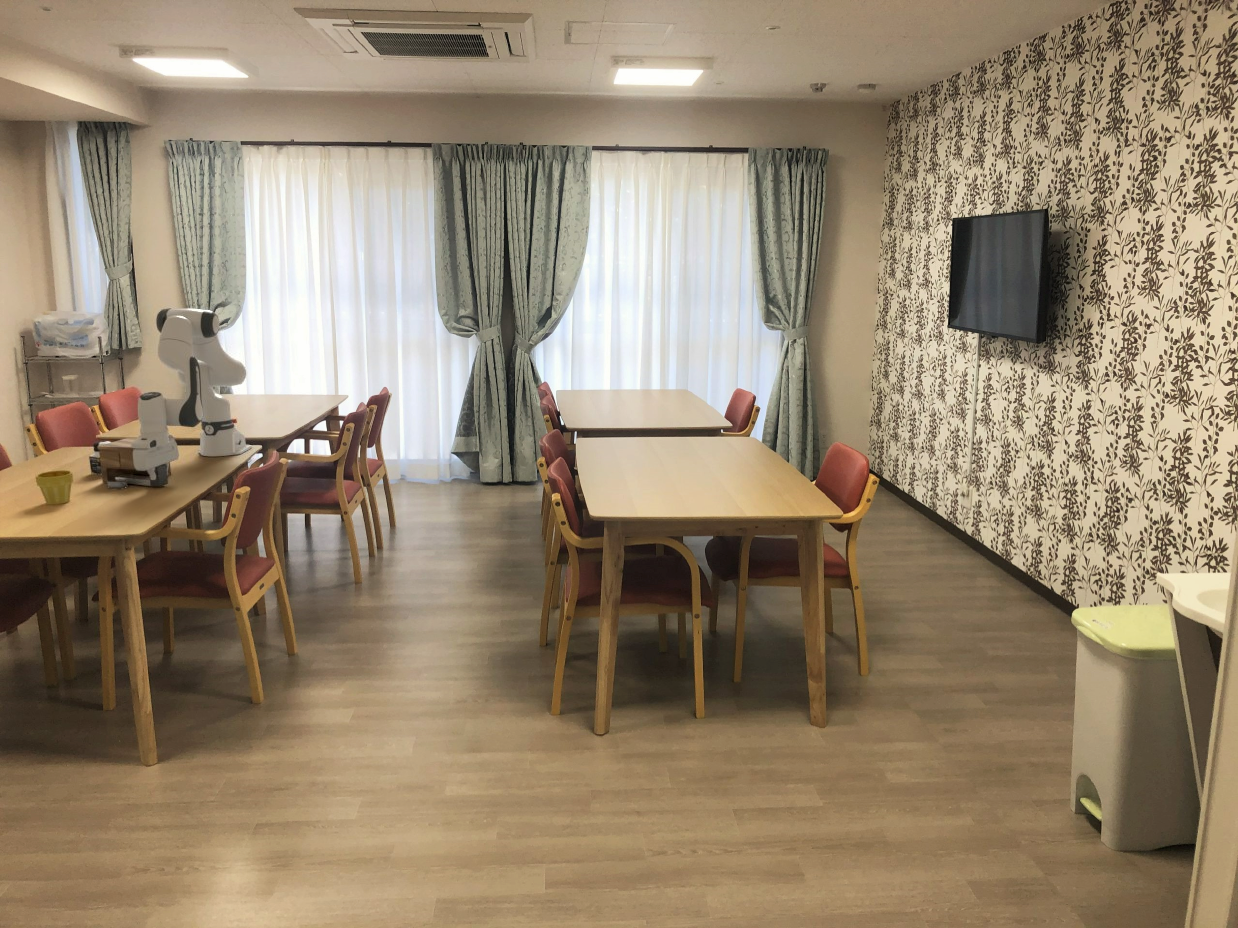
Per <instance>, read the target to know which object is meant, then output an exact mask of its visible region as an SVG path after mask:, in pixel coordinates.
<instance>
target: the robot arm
mask: <svg viewBox="0 0 1238 928" xmlns="http://www.w3.org/2000/svg"><path fill="white" fill-rule="evenodd" d="M155 321H156V322H155V324H156V328H157V329H156V330H157V331H158V332H159V333H160V336H159V339H158V340H159V341H158V344H157V345H158V347H157V356H158V358H159V360H160V362H162V364H163V365H165V366H166V367H167V368H169V369H171V370H174V371H175V372H177V375H178V379H179V380H180V382H181V384H183V385H184V386H185V394H186V395H185V397H184V398H181V399H180V398H165V397H164V395H163V394H162V393H161V392H158V391H151V392H144V393H143V394H141V395H139V396H138V399H137V400H138V401H137V415H138V422H139V423H140V425H139V426H140V429H139V433H140V435H138V436H137V437H136V438H137V439H136V440H134V441H133V442H132V444H131V445H132V448H135V449H134V451H133V462H134V467H135V469H136V470H138V471H145V470H147V472H148V473H149V475H150V479H151V480H155V479H157V474H155V472H154V470H155V467H157V466H160V465H166V468H167V470H168V468H169V462H170V463H171V462H174V461H177V460H178V459H179V457H180V453H179V448H178V443H177V442H176V439H175V437H174V436H173V435H172V434H169V428H168V426H169V427H183V428H184V427H186V428H195V427H196V426H198V425H199V424H200V423H201V424H200V426H201V430H202V431H201V433H200V435H199V438H200V439H199V443H200V444H199V445H200V447H199V450H198V454H200V455H201V456H205V457H223V456H224V457H226V456H233V455H242V454H244V453H245V452H246V451H248V450H250V449H252V448H253V446H252V445H250V444H247V443H246V438H245V437H246V436H245V435H244V434H243V433H242V432H241V431H239V429H237V428H236V427H235V424H237V423H238V419H237V418H232V412H231V403H230V400H228V398H227V397H225V396H224V395H221V394H219V393H218V392H216V391H215V389H214V387H215V388H216V387H218V388H219V387H223V388H224V387H234V386H239V385H242V384H243V383H244V381H245V379H246V377H247V369H246V367H245V365H244V364H243V363H242V362H241V361H239V360H237V359H235V358H233V357H231V356H230V355H229V354H228V353H227V352H226V351H225V350H224V349H223V347H222V346H221V342H220V340H219V337H218V333H219V330H220V319H219V316H218V314H216V313H215V312H214V311H212V310H209V309H199V308H191V307H190V308H163V309H161V310H159V312H157V314H156V319H155ZM149 475H148V476H149ZM167 475H168V471H167Z"/></svg>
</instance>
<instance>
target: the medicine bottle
mask: <svg viewBox="0 0 1238 928" xmlns="http://www.w3.org/2000/svg"><path fill="white" fill-rule="evenodd" d="M108 443H111V441H109V440H99V441H95V442H94V443H93V445H92V446H93V452H94V454H89V456H88V459H89V467H90V474H91V475H97V474H98V476H102V472H101V463H100V455H99V449H98V448H97V446H100V445H104V444H108Z"/></svg>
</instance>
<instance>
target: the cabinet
mask: <svg viewBox="0 0 1238 928" xmlns="http://www.w3.org/2000/svg"><path fill="white" fill-rule="evenodd" d="M137 438H138V437H126V438H123V439H119V440H116V441H115V440H114V441H112V442H111V441H110V442H111V443H108V444H104V445H100V446H97V448H98V449H99V455H100V463H101V472H102V475H101V479H102V484H107V482H108V481H111V480H116V478H115V477H117V476H120V475H124V474H126V475H132V474H142V475H141V476H149V473H148V472H147V470H145V471H138V470H136V469H135V467H134V462H133V451H134V449H135V448H132V445H131V444H132V442H133V441H134V440H136V439H137ZM167 471H168V475H167V477H168V476H171V475H172V469H171V462H169V468H168V470H167Z"/></svg>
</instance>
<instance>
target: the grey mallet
mask: <svg viewBox="0 0 1238 928" xmlns="http://www.w3.org/2000/svg"><path fill="white" fill-rule="evenodd" d="M154 472H155V474H157V479H155V480H151V479H150V475H126V474H124V475H120V476H117V477H115V478H116V480H119V479H124V480H127V485H128V484H129V485H130V484H131V485H138V486H147V487H148V486H149V487H159V488H160V487H164V486H165V485H169V479H168V476H167V468H166V465H160V466H157V467H155V470H154Z"/></svg>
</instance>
